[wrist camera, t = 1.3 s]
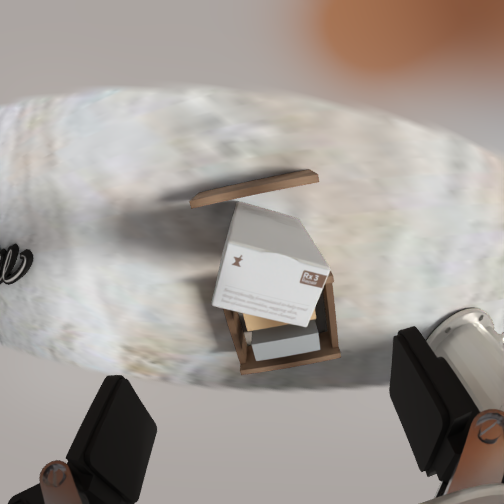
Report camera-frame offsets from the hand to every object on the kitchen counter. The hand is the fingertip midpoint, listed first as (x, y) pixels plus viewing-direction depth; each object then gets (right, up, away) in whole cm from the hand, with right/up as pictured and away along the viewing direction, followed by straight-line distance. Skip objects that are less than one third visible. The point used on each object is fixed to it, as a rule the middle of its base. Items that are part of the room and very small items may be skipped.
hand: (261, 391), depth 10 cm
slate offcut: (+3, -2, +22) cm, 22 cm away
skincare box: (+1, +7, +19) cm, 20 cm away
